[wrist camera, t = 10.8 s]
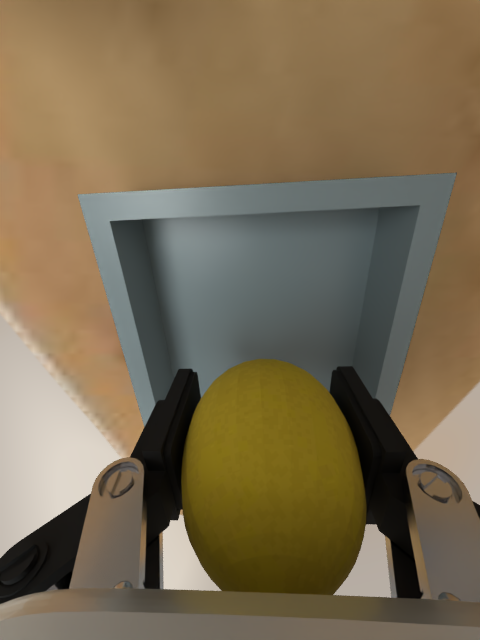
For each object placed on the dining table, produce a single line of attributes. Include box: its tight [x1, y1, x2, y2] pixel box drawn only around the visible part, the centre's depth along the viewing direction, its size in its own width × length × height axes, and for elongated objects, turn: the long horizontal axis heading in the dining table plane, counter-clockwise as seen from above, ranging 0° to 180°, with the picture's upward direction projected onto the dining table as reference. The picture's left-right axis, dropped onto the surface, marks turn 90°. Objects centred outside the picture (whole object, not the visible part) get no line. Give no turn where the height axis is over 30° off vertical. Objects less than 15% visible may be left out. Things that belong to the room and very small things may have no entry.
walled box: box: [78, 173, 457, 427], centre depth 14 cm, size 16×14×4 cm
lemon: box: [181, 359, 366, 595], centre depth 8 cm, size 6×6×8 cm
